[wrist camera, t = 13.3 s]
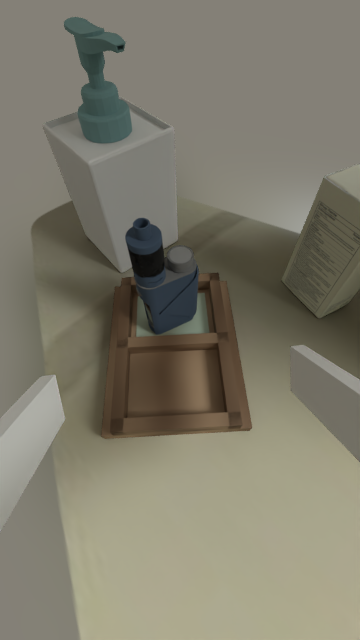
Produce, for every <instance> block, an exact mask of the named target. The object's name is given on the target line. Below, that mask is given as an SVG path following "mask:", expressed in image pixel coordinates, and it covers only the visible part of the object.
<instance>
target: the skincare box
mask: <svg viewBox="0 0 360 640" xmlns="http://www.w3.org/2000/svg"><path fill="white" fill-rule="evenodd" d="M282 282H283V283H284V284H285V285H286V286H287V287H288V288H289V289H290V290H291V291H292V292H293V293H294V294H295V295H296V296H297V298H298V299H299V300H300V301H301V302H302V303H303V304H304V305H305V306H306V307H307V308H308V309H309V310H310V311H312V312H313V313H314V314H315V315H316V316H317V317H318V318H321V317H323V316H325V315H327V314H329V313H331V312H333V311H335V310H337V309H339V308H341V307H343V306H344V305H346V304H348V303H349V302H350V300H351V299H352V298H353V297H354V296H355V294H356V293H357V292H358V291H359V289H360V163H359V164H357V165H354V166H351V167H348V168H345V169H342V170H340V171H337V172H334V173H331V174H328V175H326V176H324V178H323V181H322V183H321V185H320V188H319V190H318V193H317V195H316V198H315V200H314V203H313V205H312V207H311V210H310V212H309V215H308V217H307V219H306V222H305V224H304V227H303V229H302V231H301V234H300V236H299V239H298V241H297V244H296V246H295V248H294V251H293V253H292V256H291V258H290V260H289V263H288V265H287V268H286V270H285V272H284V275H283V277H282Z"/></svg>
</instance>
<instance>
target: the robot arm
mask: <svg viewBox="0 0 360 640" xmlns="http://www.w3.org/2000/svg"><path fill="white" fill-rule="evenodd" d="M290 357H291V391H292V392H293V393H294V394H295V396H296V397H297V398H298V399H299V400H300V401H301V402H302V403H303V404H304V405H305V406H306V407H307V408H308V409H309V410H310V411H311V412H312V413H313V414H314V415H315V416H316V417H317V418H318V419H319V420H320V421H321V422H322V423H323V424H324V426H325V427H326V428H327V429H328V430H329V431H330V432H331V433H332V434H333V435H334V436H335V437H336V438H337V439H338V440H339V441H340V442H341V443H342V444H343V445H344V446H345V447H346V448H347V449H348V450H349V451H350V452H351V453H352V454H353V455H354V457H355V458H356V459H357V460H358V461H359V462H360V380H359V379H358V378H356V377H355V376H353V375H351V374H350V373H348V372H347V371H345V370H343V369H342V368H340V367H339V366H337V365H335V364H334V363H332V362H331V361H329V360H327V359H326V358H324V357H323V356H321V355H319V354H318V353H316V352H314V351H313V350H311V349H310V348H308V347H306V346H305V345H297V346H290ZM64 420H65V416H64V412H63V407H62V403H61V398H60V394H59V389H58V385H57V380H56V376H55V375H47V376H41V377H40V378H39V379H38V380H37V381H36V382H35V383H34V384H33V385H32V386H31V387H30V388H29V389H28V390H27V391H26V392H25V393H24V394H23V395H22V396H21V397H20V398H19V399H18V400H17V401H16V402H15V403H14V404H13V405H12V406H11V407H10V408H9V409H8V410H7V411H6V412H5V414H4V415H2V417H1V418H0V532H1V530H2V529H3V527H4V525H5V523H6V522H7V520H8V518H9V516H10V514H11V513H12V511H13V509H14V507H15V506H16V504H17V502H18V501H19V499H20V497H21V495H22V494H23V492H24V490H25V488H26V487H27V485H28V483H29V481H30V479H31V478H32V476H33V474H34V473H35V471H36V469H37V468H38V466H39V464H40V462H41V461H42V459H43V457H44V455H45V454H46V452H47V450H48V448H49V447H50V445H51V443H52V441H53V440H54V438H55V436H56V434H57V433H58V431H59V429H60V427H61V426H62V424H63V422H64Z"/></svg>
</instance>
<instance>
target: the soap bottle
mask: <svg viewBox="0 0 360 640" xmlns="http://www.w3.org/2000/svg"><path fill="white" fill-rule="evenodd" d="M64 27H65V29H66V30H67V31H68V32H70V33H71V34H73V35H74V37H75V41H76V45H77V49H78V53H79V58H80V61H81V64H82V66H83V68H84V69H85V70H86V72H87V73H88V77H89V82H90V83H88V84H86V85H84V86H83V87H82V90H81V95H82V99H83V104H82V105H81V106H80V107H79V109H78V112H75V113H73V114H70V115H67V116H64V117H61V118H58V119H55V120H52V121H50V122H46V123H44V124H43V129H44V131H45V134H46V136H47V139H48V141H49V144H50V146H51V149H52V152H53V154H54V156H55V159H56V161H57V164H58V167H59V169H60V172H61V174H62V176H63V179H64V181H65V184H66V186H67V189H68V192H69V194H70V197H71V199H72V202H73V204H74V207H75V209H76V212H77V214H78V217H79V219H80V222H81V224H82V227H83V229H84V232H85V234H86V236H87V237H88V238H89V239H90V240H91V241H92V242H93V243H94V244H95V246H96V247H97V248H98V249H99V250H100V251H101V252H102V253H103V254H104V255H105V256H106V257H107V258H108V260H109V261H110V262H111V263H112V264H113V265H114V266H115V267H116V268H117V269H118V270H119V271H120V272H121V273H123V272H125V271H127V270H129V269H130V268H132V264H131V260H130V256H129V252H128V248H127V244H126V240H125V235H126V233H127V231H128V230H129V229H130V228H131V227H133V222H134V221H135V220H136V219H138V218H146V219H148V220H149V221H150V224H153V225H155V226H157V227H158V228H159V229H160V230H161V233H162V241H163V249H164V248H166V247H168V246H169V245H171V244H173V243H175V242H176V241H177V240H178V222H177V194H176V167H175V134H174V128H173V127H172V126H170V125H169V124H167V123H165V122H164V121H162V120H160V119H158V118H157V117H155V116H153V115H152V114H150V113H148V112H147V111H145V110H143V109H142V108H140V107H138V106H136V105H135V104H133V103H131V102H130V101H128V100H126V99H124V98H123V97H119V96H118V90H117V88H116V86H115V84H113V83H112V82H108V81H104V75H103V68H104V64H105V60H104V55H103V51H107V50H108V51H110V50H111V51H114V52H116V53H119V52H123V51H124V47H125V41H124V40H123V39H122V38H121V37H120V36H119V35H117V34H115V33H110V32H104V29H103V28H100V27H97V26H95V25H93V24H92V23H90V22H88V21H87V20H86V19H83V18H78V17H73V18H69V19H67V20H65V22H64Z"/></svg>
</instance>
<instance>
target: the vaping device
mask: <svg viewBox="0 0 360 640" xmlns="http://www.w3.org/2000/svg"><path fill="white" fill-rule="evenodd" d="M125 240H126V244H127V248H128V252H129V256H130V260H131V264H132V268H133V272H134V280H135V283H136V290H137V293H138V294H139V297H140V298H141V299H142V300H143V303H144V307H145V311H146V315H147V319H148V324H149V327H150V329H151V330H152V331H153V332H154V333H155V334H156V335H159V334H162V333H164V332H167V331H169V330H171V329H173V328H176V327H178V326H180V325H182V324H184V323H187V322H189V321H191V320H192V319H193V317H194V315H195V314H196V310H197V295H198V276H199V271H198V266H197V264H196V261H195V259H194V253H193V251H192V250H191V249H190V248H189V247H187V246H183V245H178V246H174V247H172V248H171V249H170V250H169V251H168V253H167V257H165V258H164V251H163V241H162V233H161V230H160V229H159V228H158V227H157V226H155V225H153V224H150V221H149V220H148V219H146V218H138V219H136V220H135V221H134V222H133V227H131V228H130V229H129V230H128V231H127V233H126V235H125Z"/></svg>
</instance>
